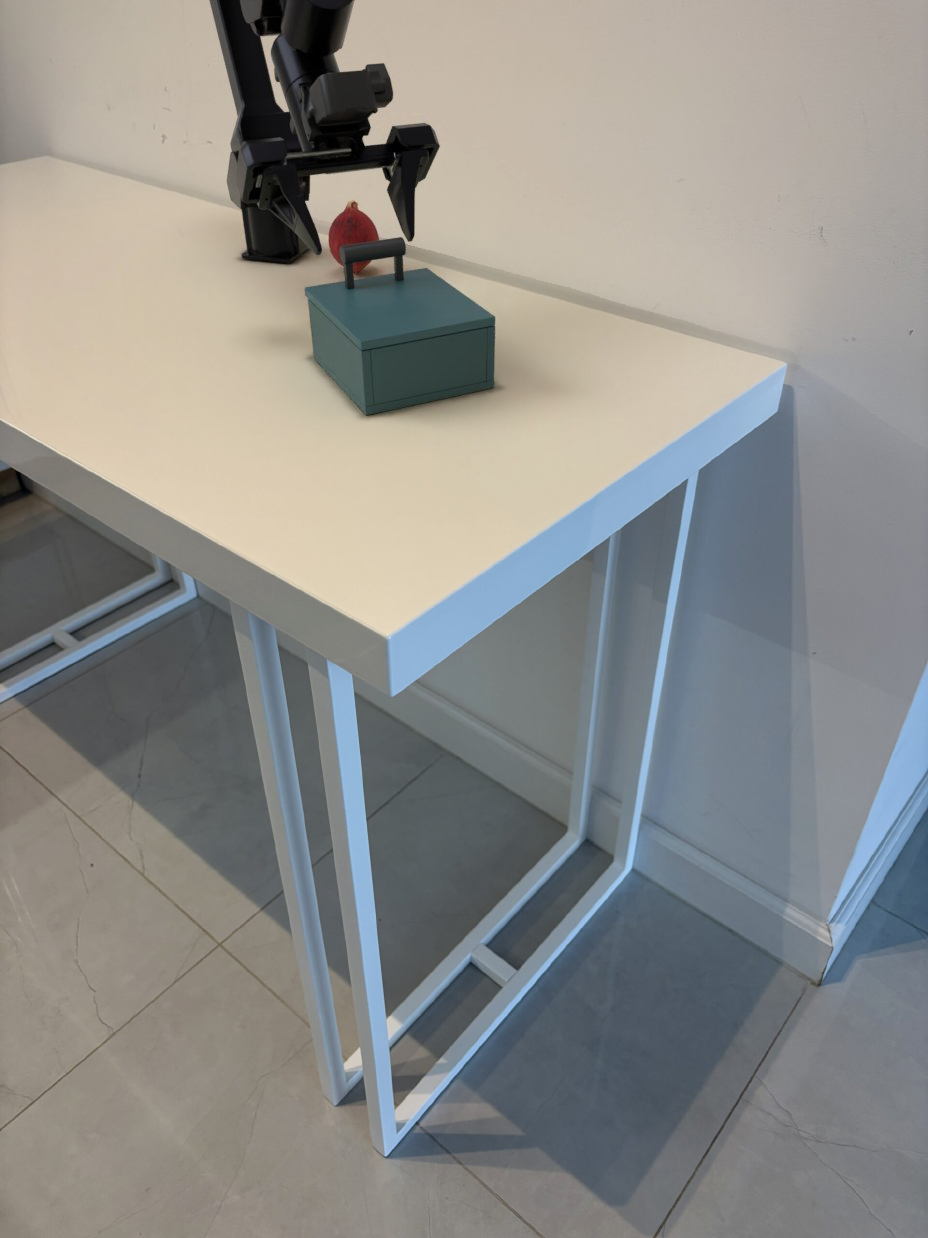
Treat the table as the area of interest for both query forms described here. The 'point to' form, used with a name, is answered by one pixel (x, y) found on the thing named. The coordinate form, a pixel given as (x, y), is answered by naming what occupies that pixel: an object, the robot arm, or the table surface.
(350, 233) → the onion
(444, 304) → the cool box lid
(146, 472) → the table surface
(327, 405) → the table surface
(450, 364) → the cool box
